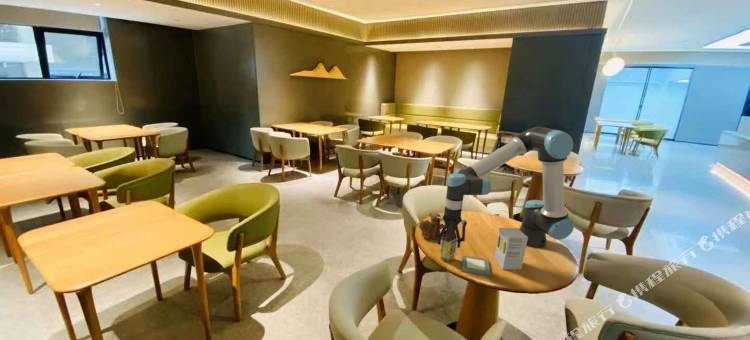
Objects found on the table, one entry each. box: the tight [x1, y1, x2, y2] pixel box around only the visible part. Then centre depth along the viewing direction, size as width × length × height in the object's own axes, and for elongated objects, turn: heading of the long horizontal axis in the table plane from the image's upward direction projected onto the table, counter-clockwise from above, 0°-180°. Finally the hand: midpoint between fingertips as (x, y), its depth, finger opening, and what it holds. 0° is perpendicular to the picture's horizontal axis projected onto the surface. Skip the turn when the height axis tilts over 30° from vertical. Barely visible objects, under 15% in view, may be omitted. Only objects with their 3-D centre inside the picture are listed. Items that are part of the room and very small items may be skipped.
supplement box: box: [494, 227, 528, 270], centre depth 144 cm, size 10×9×17 cm
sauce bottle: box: [440, 222, 457, 263], centre depth 145 cm, size 6×6×20 cm
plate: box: [461, 254, 491, 277], centre depth 143 cm, size 12×12×1 cm
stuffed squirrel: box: [418, 212, 445, 241], centre depth 167 cm, size 10×14×13 cm
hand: (447, 251), depth 147 cm, fingers closed on sauce bottle, 6 cm apart
